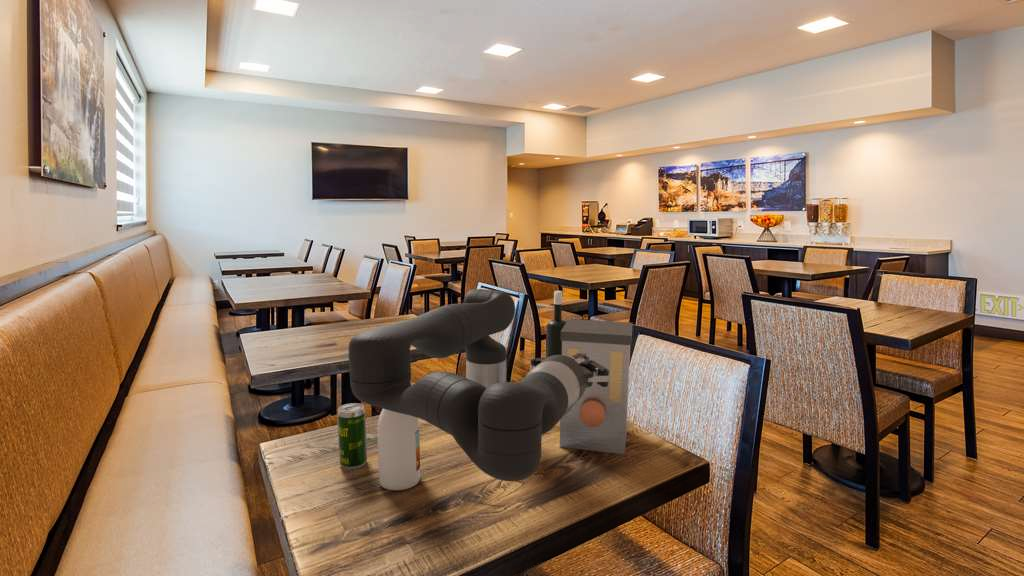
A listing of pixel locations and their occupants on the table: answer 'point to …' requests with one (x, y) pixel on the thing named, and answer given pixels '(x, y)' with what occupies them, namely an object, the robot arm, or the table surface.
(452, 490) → the table surface
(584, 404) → the plunger
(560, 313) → the wine bottle
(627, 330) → the dispenser
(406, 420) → the milk bottle
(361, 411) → the beer can
